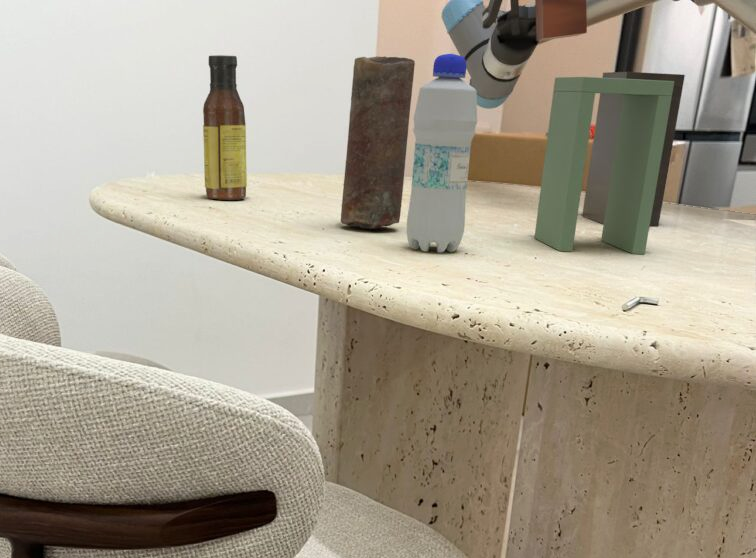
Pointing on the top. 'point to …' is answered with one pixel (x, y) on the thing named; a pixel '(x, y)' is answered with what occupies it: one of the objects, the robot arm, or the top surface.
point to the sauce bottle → (224, 133)
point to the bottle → (441, 156)
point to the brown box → (560, 18)
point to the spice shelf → (607, 142)
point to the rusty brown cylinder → (377, 141)
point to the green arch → (630, 165)
